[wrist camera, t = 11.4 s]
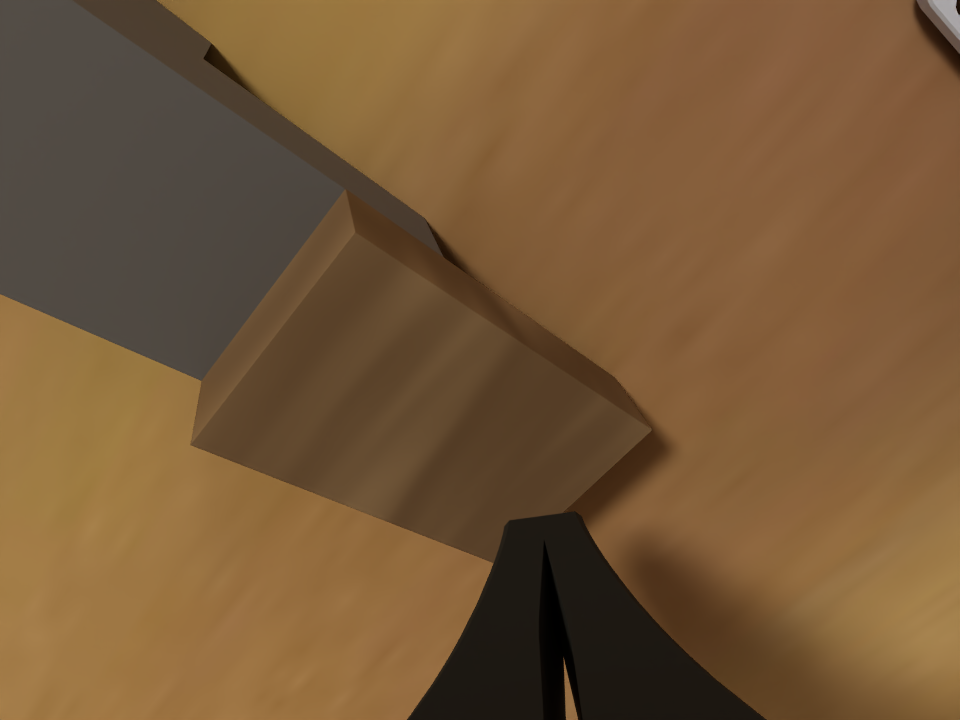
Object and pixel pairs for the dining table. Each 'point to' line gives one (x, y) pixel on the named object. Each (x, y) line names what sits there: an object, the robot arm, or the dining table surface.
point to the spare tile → (410, 391)
